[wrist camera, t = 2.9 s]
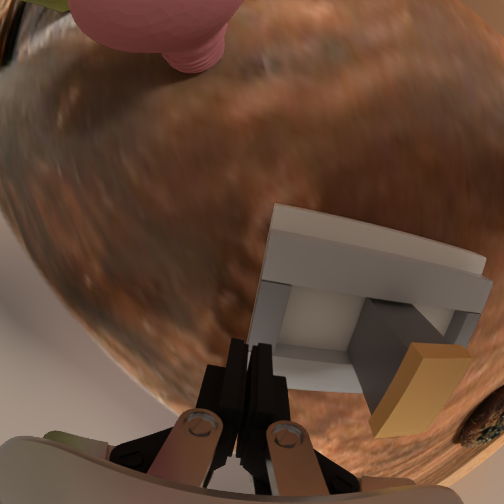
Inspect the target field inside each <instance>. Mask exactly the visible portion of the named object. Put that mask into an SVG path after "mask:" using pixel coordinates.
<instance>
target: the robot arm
mask: <svg viewBox="0 0 504 504" xmlns="http://www.w3.org/2000/svg"><path fill="white" fill-rule="evenodd" d="M248 351H249V344H244V340H241V339H235V338H231V344H230V349H229V354H228V360H227V365H226V368H225V367H219V366H214V365H209V364H208V365H207V368H206V372H205V375H204V379H203V383H202V386H201V390H200V393H199V397H198V401H197V404H196V408H194V409H189V410H187V411H185V412H183V413H182V414H181V415H180V417H179V418H178V420H177V422H176V424H175V425H174V427H171V428H168V429H166V430H163V431H160V432H157V433H154V434H151V435H148V436H145V437H142V438H139V439H136V440H132V441H129V442H126V443H122V444H120V445H118V446H111V445H108V442H103V441H97V440H93V439H89V438H84V437H80V436H76V435H72V434H69V433H65V432H61V431H51V432H48V433H47V434H45V435H44V437H43V438H39V437H33V436H17V437H14V438H11V439H9V440H8V441H6V442H5V443H4V444H2V445H1V446H0V504H464V503H463V501H462V500H461V498H460V497H459V495H458V494H457V493H456V492H455V491H454V490H452V489H450V488H448V487H444V486H440V485H430V484H416V483H415V482H414V481H413V480H411V479H408V478H389V477H369V476H362V477H361V478H356V477H355V476H354V475H353V474H352V473H350V472H348V471H347V470H345V469H343V468H342V467H340V466H339V465H337V464H336V463H334V462H332V461H331V460H329V459H328V458H326V457H325V456H323V455H322V454H320V453H319V452H317V451H316V450H315V449H313V446H312V443H311V440H310V438H309V435H308V433H307V431H306V429H304V428H303V427H302V426H301V425H299V424H298V423H295V422H292V421H291V419H290V409H289V399H288V390H287V380H286V377H285V376H277V375H273V359H272V345H271V344H265V343H258V346H256V345H253V346H252V351H251V355H250V360H249V364H248V368H247V363H248ZM237 434H238V437H237ZM236 438H237V447H236V458H241V461H240V465H242V466H243V468H244V469H246V470H247V471H248V472H249V473H250V475H249V480H250V486H251V493H252V494H242V493H234V492H226V491H219V490H213V489H208V487H209V485H210V482H211V479H212V477H213V474H214V470H216V469H218V468H220V467H222V466H224V465H225V463H226V459H227V456H229V457H231V456H232V453H233V449H234V445H235V441H236Z"/></svg>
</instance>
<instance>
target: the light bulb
mask: <svg viewBox="0 0 504 504" xmlns="http://www.w3.org/2000/svg"><path fill="white" fill-rule="evenodd" d="M242 2H243V0H68V5H69V9H70V12H71V14H72V17H73V19H74V21H75V22H76V24H77V25H78V26H79V28H80V29H81V30H82V32H84V33H85V34H86V35H87V36H89V37H90V38H91V39H93V40H94V41H96V42H97V43H99V44H102V45H104V46H106V47H108V48H111V49H115V50H119V51H124V52H131V53H161V54H162V56H163V58H164V59H165V60H166V61H167V62H168V63H169V65H170V66H172V67H173V68H175V69H177V70H179V71H181V72H184V73H198V72H202V71H205V70H207V69H209V68H210V67H212V66H213V65H215V64H216V63H217V62H218V61H219V59H220V58H221V57H222V55H223V53H224V48H225V43H224V35H225V33H226V31H227V28H228V21H229V20H230V19H231V17H232V16H233V15H234V13H235V12H236V10H237V9H238V8H239V6H240V5H241V4H242Z"/></svg>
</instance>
